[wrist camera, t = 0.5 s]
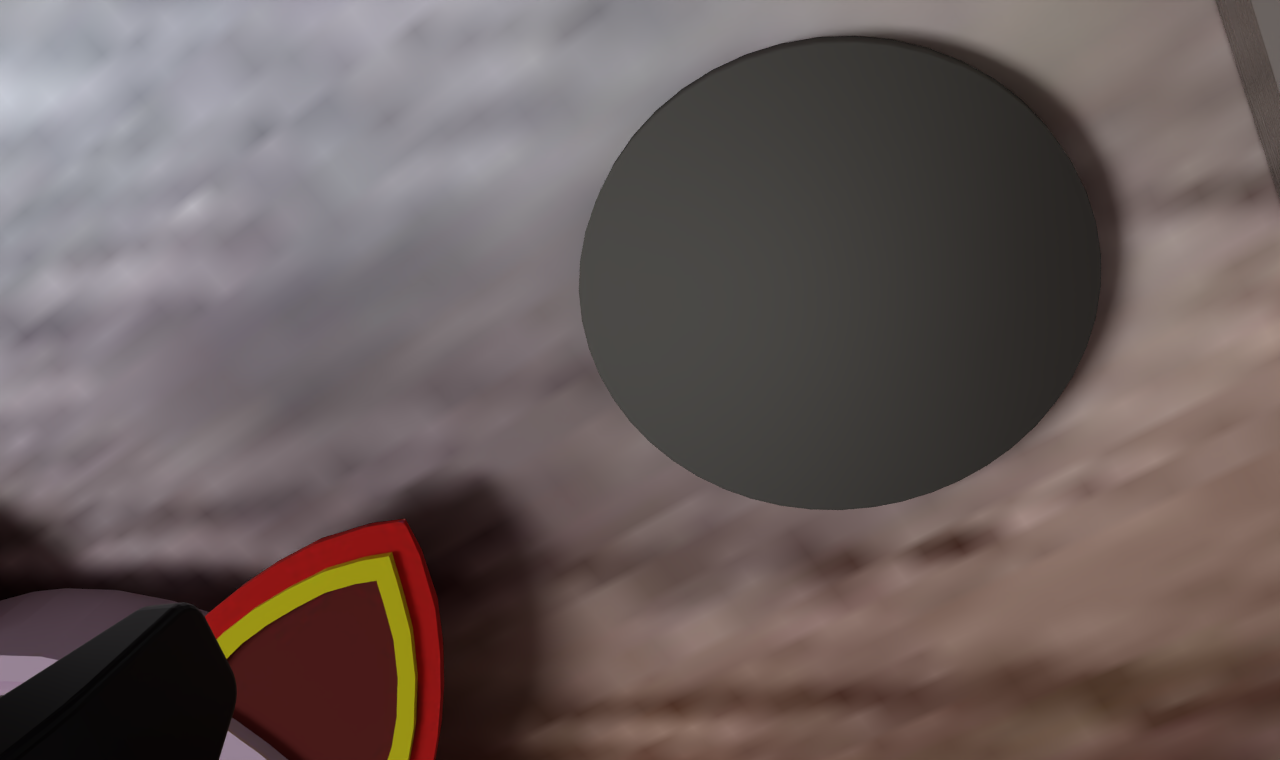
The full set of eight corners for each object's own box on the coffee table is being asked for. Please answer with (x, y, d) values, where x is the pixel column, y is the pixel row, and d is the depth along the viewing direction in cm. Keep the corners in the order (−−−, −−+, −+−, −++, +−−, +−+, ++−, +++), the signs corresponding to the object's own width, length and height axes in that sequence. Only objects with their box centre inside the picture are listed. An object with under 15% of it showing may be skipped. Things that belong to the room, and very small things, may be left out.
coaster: (1163, 389, 22) (1172, 405, 22) (725, 550, 25) (724, 567, 25) (976, -74, 18) (981, -68, 18) (490, 190, 22) (482, 200, 21)
